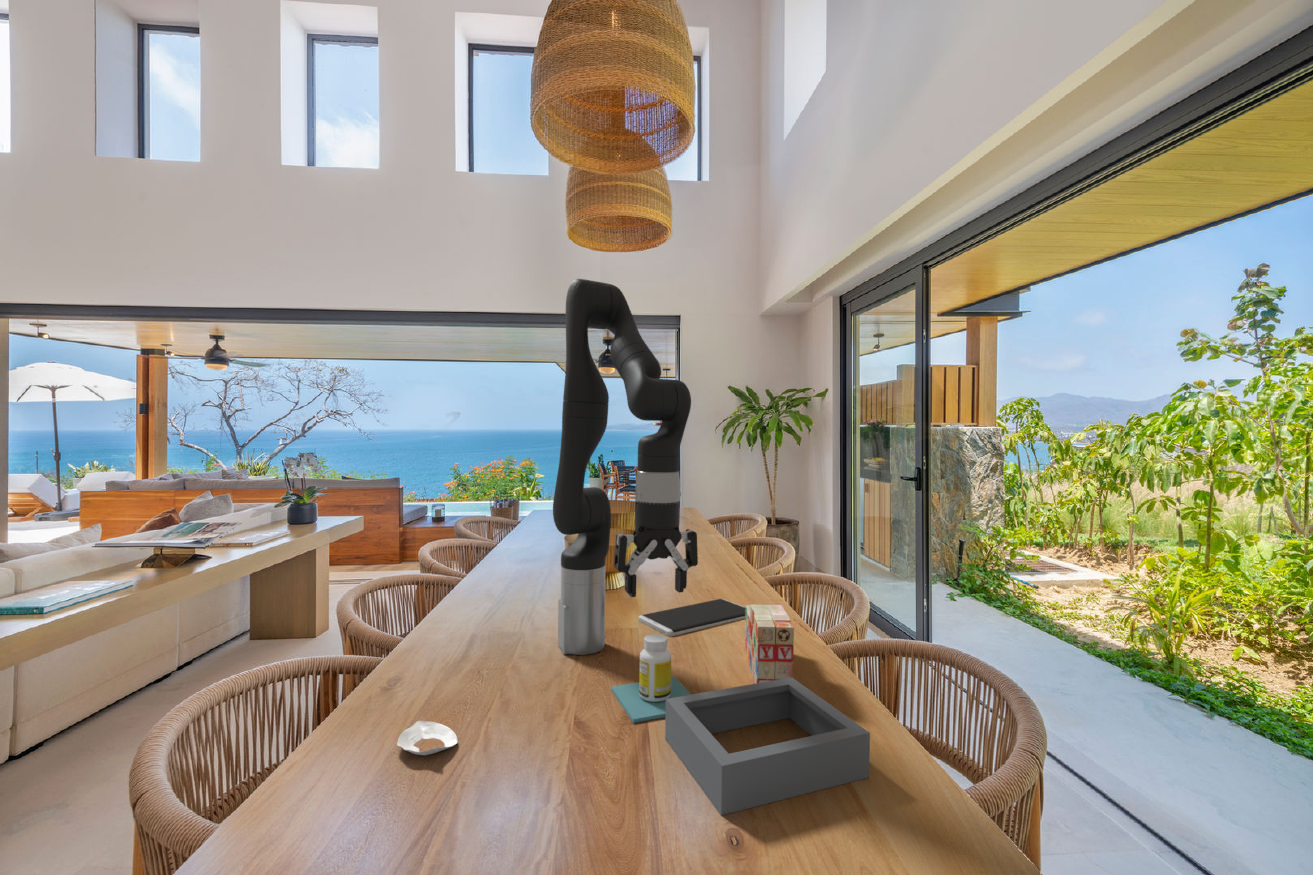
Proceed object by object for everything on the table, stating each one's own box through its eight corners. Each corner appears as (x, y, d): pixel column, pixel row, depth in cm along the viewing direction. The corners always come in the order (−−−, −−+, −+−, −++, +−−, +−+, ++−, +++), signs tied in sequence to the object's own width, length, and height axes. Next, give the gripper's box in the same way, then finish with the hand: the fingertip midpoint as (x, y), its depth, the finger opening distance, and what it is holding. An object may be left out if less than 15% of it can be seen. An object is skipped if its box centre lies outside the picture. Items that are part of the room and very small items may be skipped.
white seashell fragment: (405, 773, 77) (406, 753, 77) (389, 738, 87) (390, 720, 87) (465, 758, 81) (466, 739, 81) (444, 727, 91) (444, 710, 91)
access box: (721, 815, 70) (721, 765, 69) (665, 738, 86) (665, 698, 86) (869, 777, 77) (869, 732, 77) (791, 713, 94) (792, 677, 94)
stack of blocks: (744, 648, 122) (745, 590, 122) (774, 649, 122) (775, 590, 122) (756, 695, 101) (757, 625, 101) (793, 697, 101) (794, 626, 100)
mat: (633, 722, 91) (633, 719, 91) (611, 690, 102) (611, 686, 102) (702, 710, 95) (702, 706, 95) (674, 679, 106) (674, 676, 106)
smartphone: (758, 617, 144) (758, 610, 143) (669, 639, 128) (670, 631, 128) (722, 604, 154) (722, 597, 154) (636, 622, 139) (636, 614, 139)
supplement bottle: (674, 691, 101) (675, 634, 101) (666, 705, 95) (667, 645, 95) (644, 686, 102) (645, 631, 102) (634, 700, 97) (635, 641, 97)
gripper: (687, 493, 104) (685, 584, 104) (610, 496, 99) (608, 590, 99) (705, 499, 97) (703, 596, 97) (623, 502, 92) (622, 604, 92)
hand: (655, 593), depth 98 cm, fingers open, 8 cm apart
